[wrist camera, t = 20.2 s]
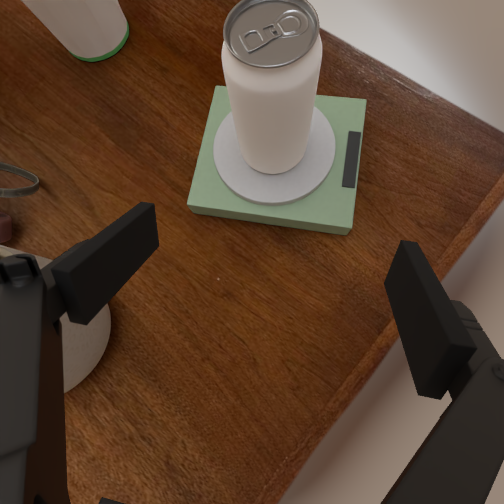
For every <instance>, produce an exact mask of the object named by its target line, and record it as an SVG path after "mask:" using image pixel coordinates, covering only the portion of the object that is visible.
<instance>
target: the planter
mask: <svg viewBox="0 0 504 504" xmlns="http://www.w3.org/2000/svg"><path fill="white" fill-rule="evenodd" d="M22 253H26V252H22V251H19V250H16V249H13V248H9V247H6V246H2V245H0V259H2V258H5V257H7V256H11V255H14V254H22ZM26 254H29V253H26ZM32 255H33V254H32ZM34 256H35V258H36V260H37V263H38V265H39V268H40V269H42V268H43V267H45V266H46V265H47V264H49V263H50V262H52V261H53V260H50V259H47V258H44V257H40V256H37V255H34ZM60 321H61V323H62V344H63V374H64V393H66V392H68V391H69V390H71V389H72V388H74V387H75V386H76V385H77V384H79V383H80V382H81V381H82V380H83V379H84V378H85V377H86V376H87V375H88V374H89V373H90V372H91V371H92V370H93V369H94V367H95V366H96V365H97V363H98V362H99V360H100V359H101V357H102V355H103V353H104V351H105V349H106V346H107V343H108V340H109V336H110V330H111V316H110V310H109V306H108V303H107V304H106V305H105V306H104V307H103V308H102V309H101V311H100V312H99V313H98V314H97V315H96V316H95V317H94V318H93V319H92V320H91V322H90V323H89V324H88V325H87V326H86V325H81V324H76V323H72V322H70V321H69V318H68V315H67V312H65V313H64V314H63V315H62V316H61V317H60Z"/></svg>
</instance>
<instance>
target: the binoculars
mask: <svg viewBox="0 0 504 504" xmlns="http://www.w3.org/2000/svg"><path fill="white" fill-rule="evenodd" d="M0 169H2V170H5V171H9V172H12V173H15V174H18V175H21V176H23V177H25V178H28V179H30V180H31V181H33V182H35V184H34V185H32V186H29V187H24V188H16V189H4V188H0V197H5V198H13V197H22V196H28V195H32V194H34V193H35V192H36V191H38V189H39V179H38V177H37V176H36V175H34V174H33V173H31V172H29V171H26V170H24V169H22V168H19V167H16V166H13V165H10V164H6V163H3V162H0ZM11 238H12V218H11V217H10V216H9V215H7V214H6V213H3V212H0V243H2V242H6V241H9V240H10V239H11Z"/></svg>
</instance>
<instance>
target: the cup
mask: <svg viewBox="0 0 504 504" xmlns="http://www.w3.org/2000/svg"><path fill="white" fill-rule="evenodd" d="M21 1H22V2H23V3H24V4H25V5H26V6H27V7H28V8H29V9H30V10H31V11H32V12H33V13H34V14H35V15H36V17H37V18H38V19H39V20H40V21H41V22H42V23H43V24H44V25H45V26H46V27H47V28H48V29H49V30H50V31H51V33H52V34H53V35H54V36H55V37H56V38H57V39H58V40H59V41H60V42H61V43H62V44H63V45H64V46H65V47H66V48H67V50H68V51H69V52H70V53H71V54H72V55H73V56H75V57H76V58H78V59H80V60H83V61H88V62H95V61H100V60H104V59H107V58H109V57H111V56H113V55H115V54H116V53H117V52H118V51H119V50H120V49H121V48H122V47H123V46H124V44H125V42H126V40H127V38H128V36H129V25H128V22H127V20H126V18H125V16H124V14H123V12H122V10H121V8H120V5H119V3H118V0H21Z"/></svg>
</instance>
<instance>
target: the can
mask: <svg viewBox="0 0 504 504" xmlns="http://www.w3.org/2000/svg"><path fill="white" fill-rule="evenodd" d="M223 36H224V43H223V47H222V65H223V71H224V76H225V81H226V86H227V91H228V95H229V100H230V105H231V110H232V114H233V119H234V124H235V128H236V133H237V137H238V142H239V146H240V150H241V154H242V156H243V158H244V160H245V161H246V163H247V164H248V165H249V166H251V167H252V168H253V169H255V170H257V171H259V172H262V173H267V174H278V173H282V172H285V171H288V170H290V169H291V168H293V167H294V166H296V165H297V164H298V163H299V162H300V161H301V159H302V158H303V156H304V154H305V151H306V147H307V142H308V137H309V131H310V125H311V119H312V114H313V108H314V102H315V96H316V90H317V84H318V78H319V72H320V66H321V59H322V43H321V38H320V35H319V19H318V15H317V13H316V11H315V9H314V8H313V6H312V5H311V4H310V3H309V2H308V1H307V0H242V1H240V2H239V3H238V4H237V5H236V6H235V7H234V8H233V9H232V10H231V11H230V13H229V14H228V16H227V18H226V21H225V24H224V29H223Z"/></svg>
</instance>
